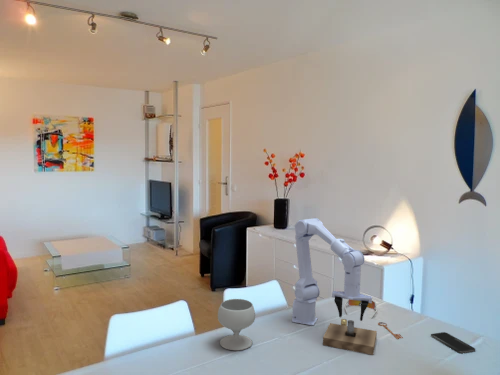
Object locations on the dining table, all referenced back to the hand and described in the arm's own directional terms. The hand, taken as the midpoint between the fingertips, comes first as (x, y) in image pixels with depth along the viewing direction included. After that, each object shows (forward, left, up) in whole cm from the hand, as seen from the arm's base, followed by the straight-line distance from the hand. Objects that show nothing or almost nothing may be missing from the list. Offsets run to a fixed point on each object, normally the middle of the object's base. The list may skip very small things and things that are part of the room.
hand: (350, 318), depth 148 cm
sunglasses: (0, +33, -10) cm, 35 cm away
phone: (+36, +15, -10) cm, 40 cm away
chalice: (-39, -19, -10) cm, 44 cm away
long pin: (0, 0, -9) cm, 9 cm away
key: (+14, +17, -10) cm, 24 cm away
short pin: (-4, +10, -9) cm, 14 cm away
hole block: (0, 0, -9) cm, 9 cm away
